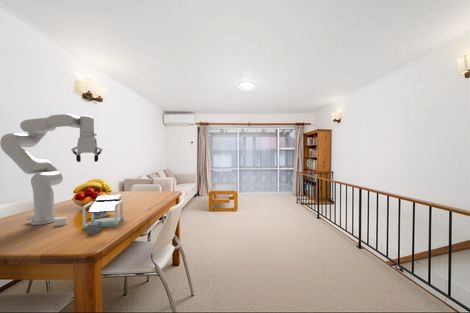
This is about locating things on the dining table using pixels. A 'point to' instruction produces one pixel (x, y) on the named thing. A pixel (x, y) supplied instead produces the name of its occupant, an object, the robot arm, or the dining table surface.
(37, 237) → the dining table surface
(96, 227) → the basalt stone
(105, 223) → the frame
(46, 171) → the robot arm
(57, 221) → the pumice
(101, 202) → the trapdoor
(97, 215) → the crystal
